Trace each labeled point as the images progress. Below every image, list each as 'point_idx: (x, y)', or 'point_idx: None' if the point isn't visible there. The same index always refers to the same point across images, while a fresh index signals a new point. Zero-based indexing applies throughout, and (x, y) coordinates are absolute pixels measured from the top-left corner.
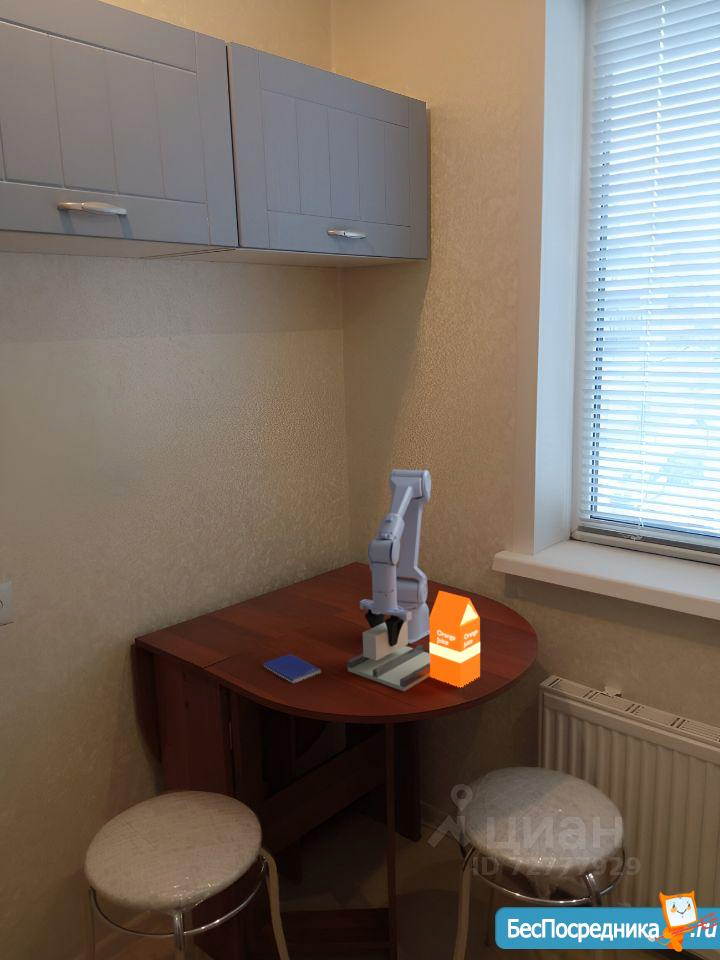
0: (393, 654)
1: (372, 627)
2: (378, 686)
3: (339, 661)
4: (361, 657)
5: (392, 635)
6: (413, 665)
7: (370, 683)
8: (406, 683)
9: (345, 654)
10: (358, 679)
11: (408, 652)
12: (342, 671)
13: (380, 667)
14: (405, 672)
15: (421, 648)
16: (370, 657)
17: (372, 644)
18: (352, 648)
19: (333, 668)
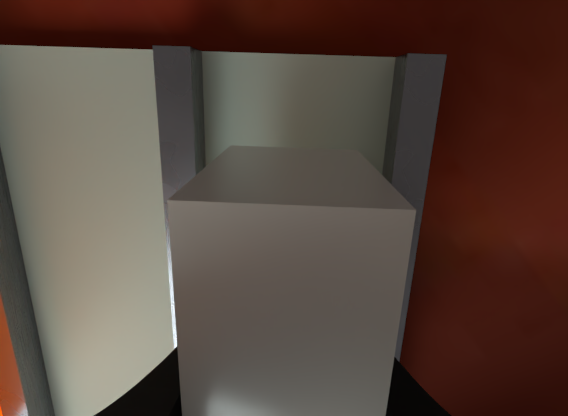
0: None
1: (414, 408)
2: (127, 5)
3: (543, 139)
4: (391, 170)
5: (143, 384)
6: (120, 298)
7: (192, 7)
8: None
9: (559, 233)
10: (288, 5)
11: None
12: (446, 34)
13: (177, 115)
14: (91, 209)
15: None
16: (287, 149)
17: (246, 171)
18: (561, 311)
19: (525, 33)
